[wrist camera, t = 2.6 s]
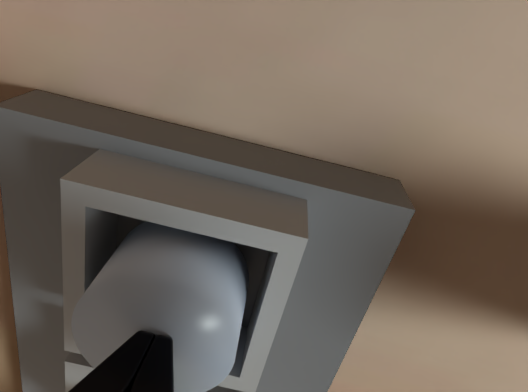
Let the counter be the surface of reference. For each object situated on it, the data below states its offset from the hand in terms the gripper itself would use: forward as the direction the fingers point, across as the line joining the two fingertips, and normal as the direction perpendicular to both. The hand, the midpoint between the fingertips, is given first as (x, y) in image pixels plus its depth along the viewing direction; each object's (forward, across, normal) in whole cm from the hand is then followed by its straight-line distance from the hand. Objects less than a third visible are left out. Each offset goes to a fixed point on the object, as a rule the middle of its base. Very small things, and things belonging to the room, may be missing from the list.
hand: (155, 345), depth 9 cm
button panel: (+5, 0, +6) cm, 8 cm away
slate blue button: (+3, 0, 0) cm, 3 cm away
